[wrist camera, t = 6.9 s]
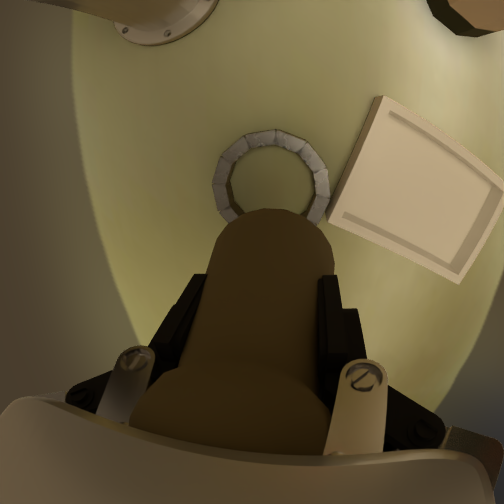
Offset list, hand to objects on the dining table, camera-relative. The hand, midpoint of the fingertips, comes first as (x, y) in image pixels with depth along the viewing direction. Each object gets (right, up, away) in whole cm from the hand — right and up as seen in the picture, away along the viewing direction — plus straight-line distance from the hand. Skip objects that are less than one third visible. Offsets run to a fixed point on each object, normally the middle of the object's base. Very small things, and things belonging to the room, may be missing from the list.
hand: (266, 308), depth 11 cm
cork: (0, +2, +3) cm, 3 cm away
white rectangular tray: (+17, +8, +15) cm, 24 cm away
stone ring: (+1, +9, +17) cm, 19 cm away
